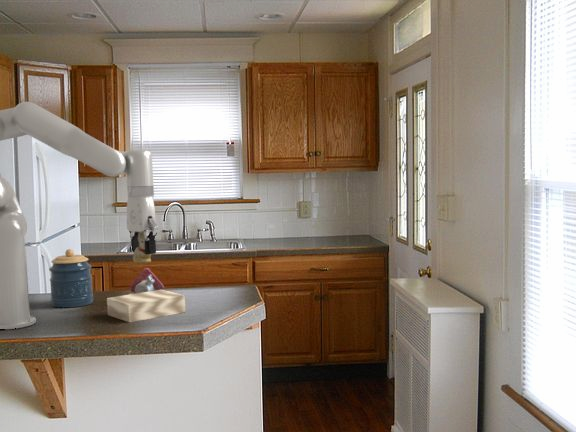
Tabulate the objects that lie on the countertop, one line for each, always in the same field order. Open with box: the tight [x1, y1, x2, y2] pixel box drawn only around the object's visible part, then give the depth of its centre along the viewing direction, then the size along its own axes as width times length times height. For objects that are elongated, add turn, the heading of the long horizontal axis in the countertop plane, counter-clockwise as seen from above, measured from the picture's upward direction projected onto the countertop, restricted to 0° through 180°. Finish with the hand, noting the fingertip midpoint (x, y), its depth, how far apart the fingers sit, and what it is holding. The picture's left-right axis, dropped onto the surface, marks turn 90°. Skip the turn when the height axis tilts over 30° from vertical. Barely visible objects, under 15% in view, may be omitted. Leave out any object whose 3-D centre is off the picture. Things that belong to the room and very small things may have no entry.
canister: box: [48, 248, 94, 309], centre depth 231 cm, size 13×13×18 cm
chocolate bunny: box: [132, 232, 152, 264], centre depth 213 cm, size 6×8×10 cm
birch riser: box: [106, 289, 186, 323], centre depth 214 cm, size 18×14×5 cm
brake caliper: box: [127, 267, 165, 295], centre depth 229 cm, size 11×11×12 cm
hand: (143, 252), depth 213 cm, fingers closed on chocolate bunny, 7 cm apart
